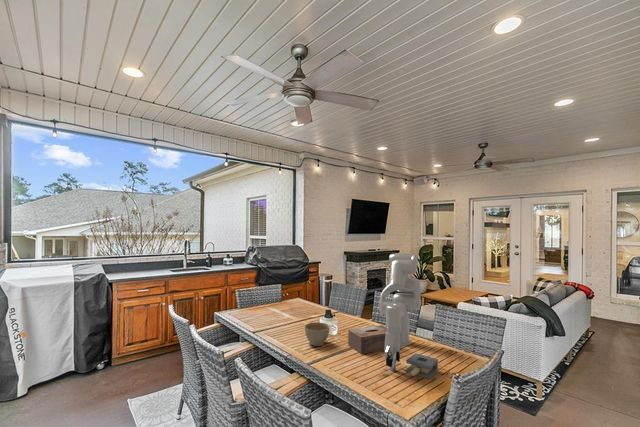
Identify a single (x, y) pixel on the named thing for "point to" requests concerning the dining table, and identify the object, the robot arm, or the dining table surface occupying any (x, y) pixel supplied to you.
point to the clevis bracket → (422, 365)
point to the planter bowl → (317, 333)
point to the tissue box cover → (367, 339)
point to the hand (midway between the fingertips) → (393, 363)
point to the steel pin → (393, 362)
